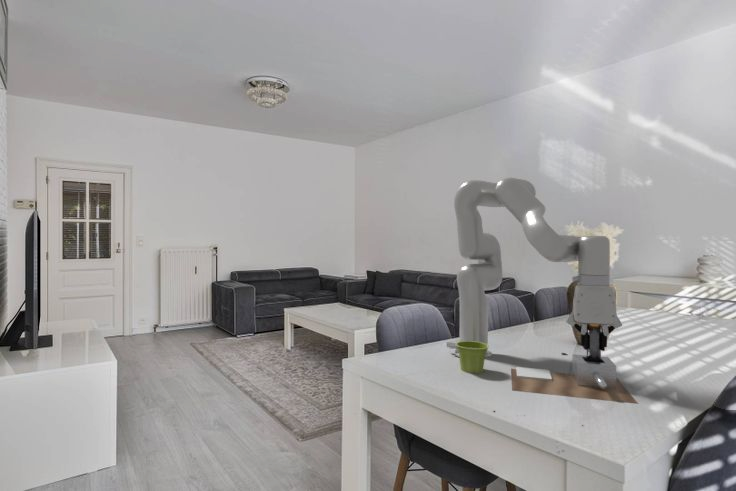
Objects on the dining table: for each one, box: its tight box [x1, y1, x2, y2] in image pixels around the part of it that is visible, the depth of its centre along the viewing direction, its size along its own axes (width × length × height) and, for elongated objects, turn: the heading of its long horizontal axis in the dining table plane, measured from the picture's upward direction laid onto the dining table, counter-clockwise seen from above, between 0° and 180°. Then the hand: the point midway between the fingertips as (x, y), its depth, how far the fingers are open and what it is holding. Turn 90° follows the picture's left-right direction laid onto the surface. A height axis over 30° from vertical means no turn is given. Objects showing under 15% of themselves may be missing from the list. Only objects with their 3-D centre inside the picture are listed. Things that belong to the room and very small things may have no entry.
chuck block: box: [571, 354, 617, 389], centre depth 111 cm, size 9×17×6 cm, turn 162°
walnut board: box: [510, 368, 639, 405], centre depth 113 cm, size 28×20×1 cm
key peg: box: [586, 324, 602, 363], centre depth 114 cm, size 3×3×12 cm
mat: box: [515, 366, 552, 381], centre depth 121 cm, size 9×9×1 cm
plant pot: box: [455, 341, 489, 374], centre depth 125 cm, size 9×9×9 cm
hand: (593, 348), depth 114 cm, fingers closed on key peg, 3 cm apart
